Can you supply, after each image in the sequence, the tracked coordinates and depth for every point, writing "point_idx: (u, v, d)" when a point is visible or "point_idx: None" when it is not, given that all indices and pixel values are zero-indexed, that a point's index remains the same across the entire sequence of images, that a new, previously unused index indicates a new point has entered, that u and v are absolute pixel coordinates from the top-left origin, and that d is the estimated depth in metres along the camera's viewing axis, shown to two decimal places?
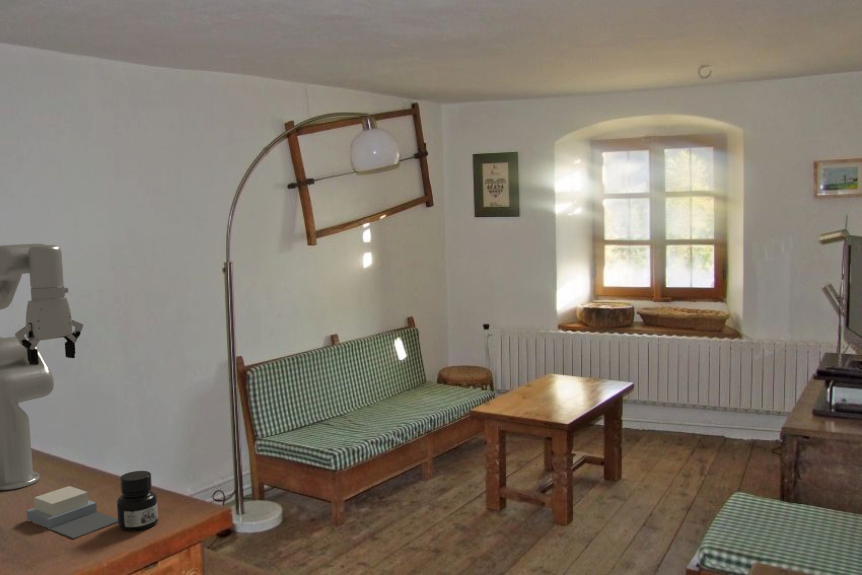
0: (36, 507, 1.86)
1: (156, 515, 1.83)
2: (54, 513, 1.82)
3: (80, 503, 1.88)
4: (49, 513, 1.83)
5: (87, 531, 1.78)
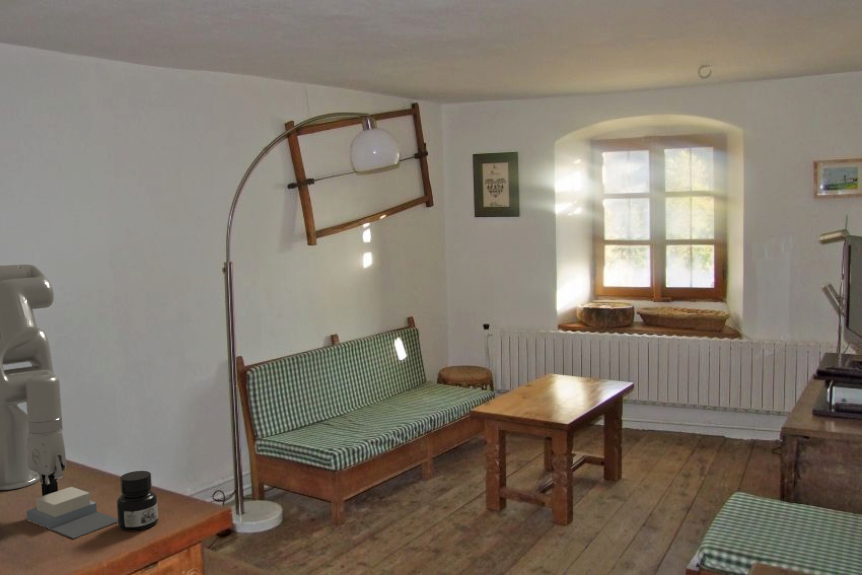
0: (38, 508, 1.86)
1: (156, 515, 1.83)
2: (56, 514, 1.82)
3: (82, 504, 1.87)
4: (51, 514, 1.82)
5: (87, 531, 1.78)
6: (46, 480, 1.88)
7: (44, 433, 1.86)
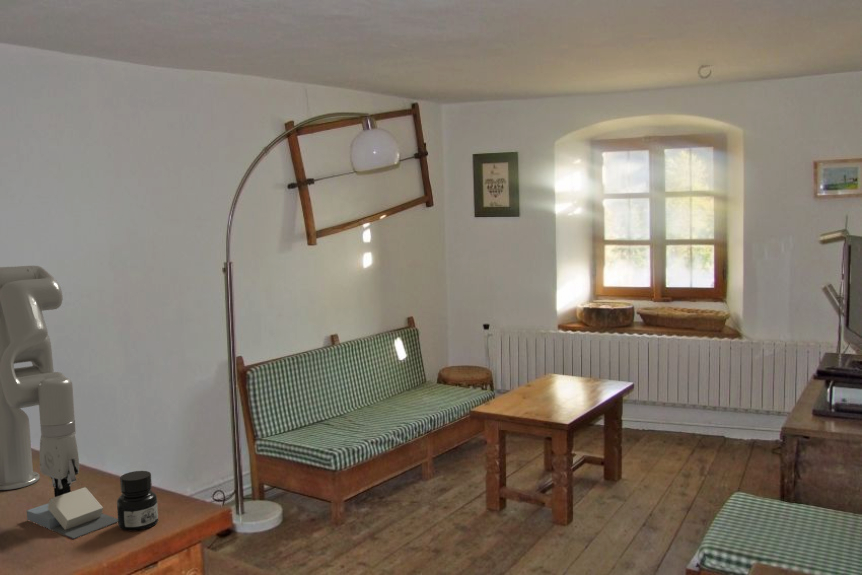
0: (49, 508, 1.82)
1: (156, 515, 1.83)
2: (66, 527, 1.79)
3: (93, 517, 1.85)
4: (62, 524, 1.80)
5: (87, 531, 1.78)
6: (59, 484, 1.85)
7: (57, 437, 1.82)
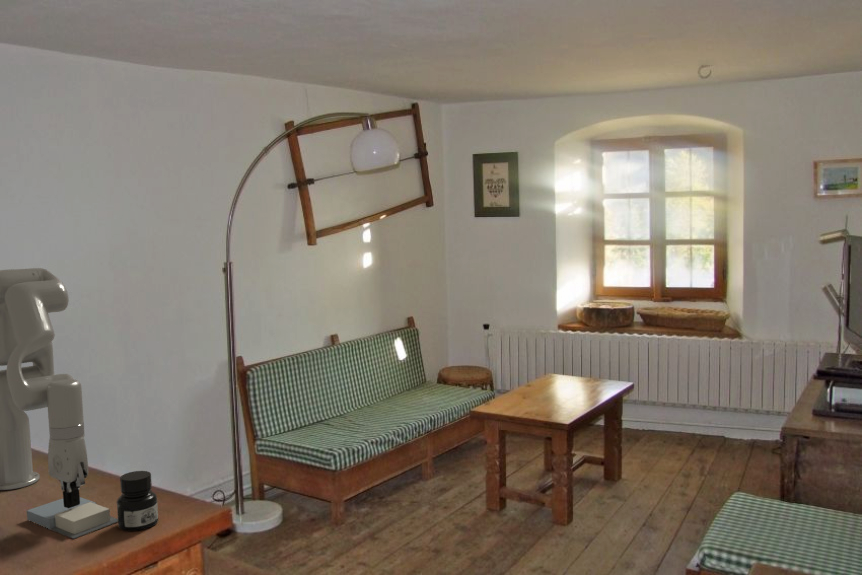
0: (57, 524, 1.81)
1: (156, 515, 1.83)
2: (75, 531, 1.77)
3: (102, 520, 1.83)
4: (70, 531, 1.78)
5: (87, 531, 1.78)
6: (68, 487, 1.83)
7: (66, 439, 1.80)
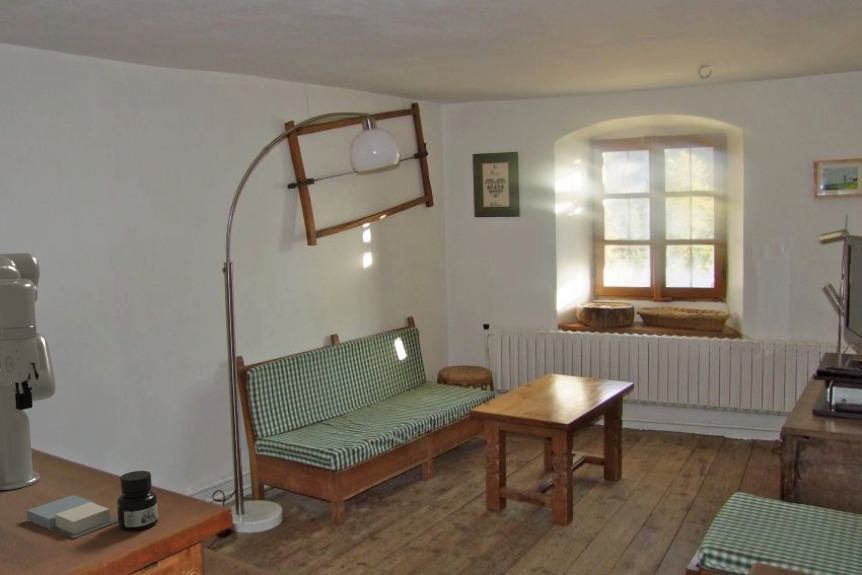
0: (57, 524, 1.81)
1: (156, 515, 1.83)
2: (75, 531, 1.77)
3: (102, 520, 1.83)
4: (70, 531, 1.78)
5: (87, 531, 1.78)
6: (20, 389, 1.84)
7: (17, 339, 1.81)
